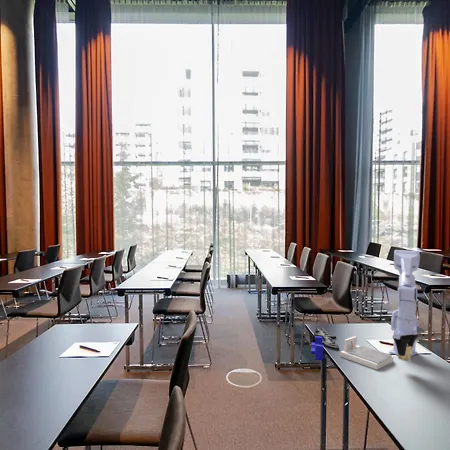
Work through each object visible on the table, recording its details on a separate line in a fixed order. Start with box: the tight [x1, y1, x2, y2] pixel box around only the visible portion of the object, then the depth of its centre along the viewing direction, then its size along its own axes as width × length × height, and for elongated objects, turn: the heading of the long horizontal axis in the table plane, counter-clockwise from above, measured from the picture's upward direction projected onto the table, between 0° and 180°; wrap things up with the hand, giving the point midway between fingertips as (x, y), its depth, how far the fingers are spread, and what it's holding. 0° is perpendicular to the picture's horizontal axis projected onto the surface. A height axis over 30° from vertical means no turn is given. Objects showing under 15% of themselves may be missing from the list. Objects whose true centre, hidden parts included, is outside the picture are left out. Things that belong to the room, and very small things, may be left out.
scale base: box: [339, 335, 394, 370], centre depth 153 cm, size 13×16×6 cm
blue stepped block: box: [310, 336, 324, 361], centre depth 157 cm, size 12×4×6 cm, turn 167°
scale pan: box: [349, 345, 392, 363], centre depth 152 cm, size 10×13×1 cm
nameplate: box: [313, 327, 340, 351], centre depth 176 cm, size 28×2×10 cm
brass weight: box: [397, 344, 412, 362], centre depth 142 cm, size 4×4×6 cm
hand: (404, 353), depth 142 cm, fingers closed on brass weight, 4 cm apart
